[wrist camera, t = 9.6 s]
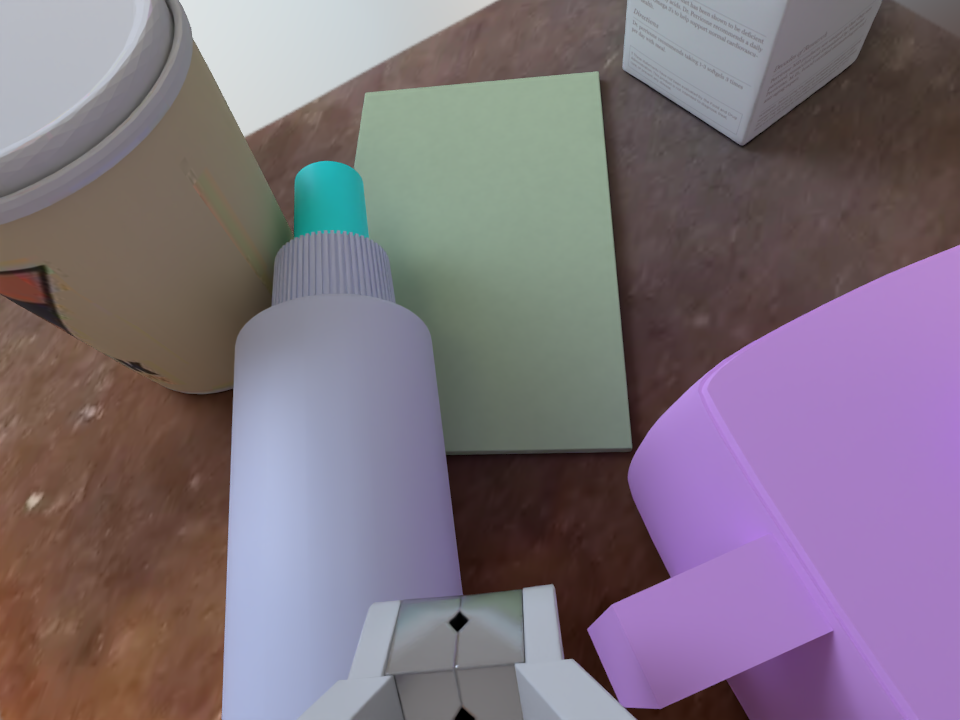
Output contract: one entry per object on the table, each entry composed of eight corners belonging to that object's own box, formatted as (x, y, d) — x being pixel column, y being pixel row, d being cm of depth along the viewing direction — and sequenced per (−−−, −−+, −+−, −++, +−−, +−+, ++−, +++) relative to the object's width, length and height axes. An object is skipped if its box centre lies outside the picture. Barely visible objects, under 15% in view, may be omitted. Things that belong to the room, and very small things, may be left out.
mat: (313, 457, 22) (309, 454, 22) (367, 99, 30) (365, 92, 30) (631, 452, 21) (632, 448, 20) (598, 78, 29) (598, 70, 28)
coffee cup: (80, 307, 26) (-247, 59, 16) (263, 185, 28) (81, -109, 18) (173, 465, 23) (-177, 278, 12) (379, 311, 24) (234, 31, 14)
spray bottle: (313, 1114, 9) (296, 88, 19) (162, 1019, 13) (212, 200, 23) (564, 947, 13) (445, 171, 23) (395, 911, 17) (353, 254, 27)
